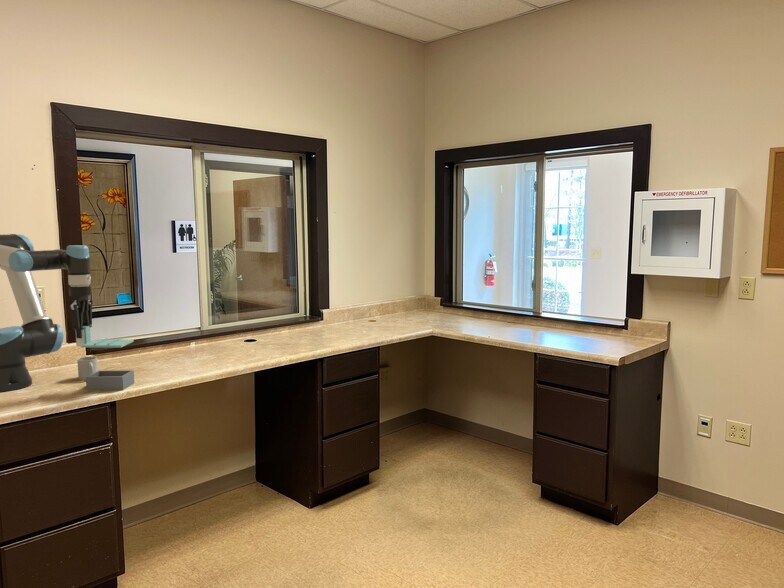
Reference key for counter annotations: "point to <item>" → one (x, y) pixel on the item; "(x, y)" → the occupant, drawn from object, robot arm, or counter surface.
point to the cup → (86, 367)
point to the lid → (102, 341)
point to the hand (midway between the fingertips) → (83, 345)
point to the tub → (110, 380)
